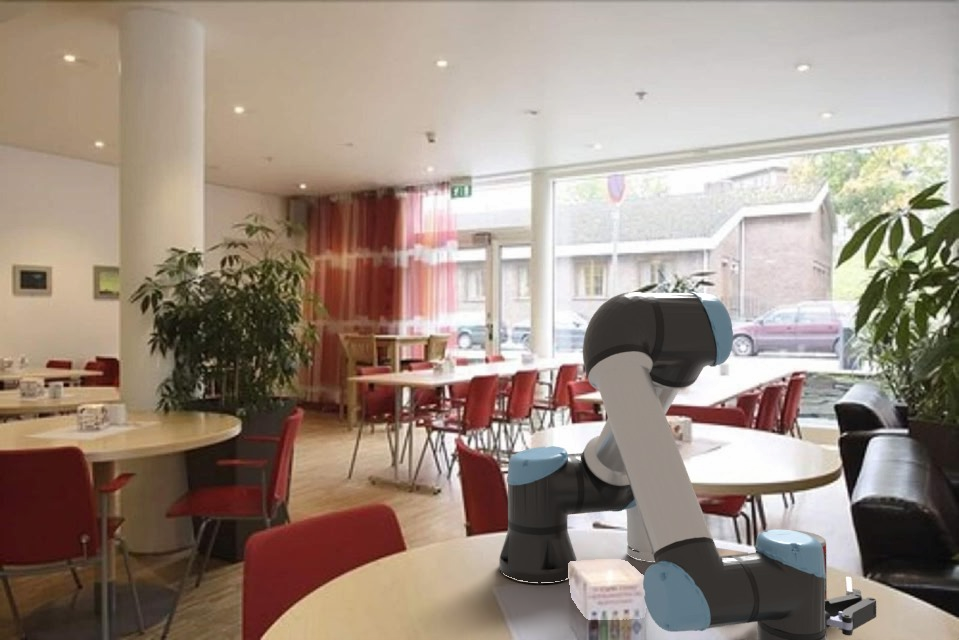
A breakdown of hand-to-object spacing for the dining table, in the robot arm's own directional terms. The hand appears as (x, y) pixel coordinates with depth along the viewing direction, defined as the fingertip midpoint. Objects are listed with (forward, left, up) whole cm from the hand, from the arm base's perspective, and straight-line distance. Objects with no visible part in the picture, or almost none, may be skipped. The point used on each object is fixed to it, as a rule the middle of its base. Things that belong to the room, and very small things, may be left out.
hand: (800, 577), depth 107 cm
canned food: (0, +7, -7) cm, 10 cm away
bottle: (-29, +17, -7) cm, 35 cm away
